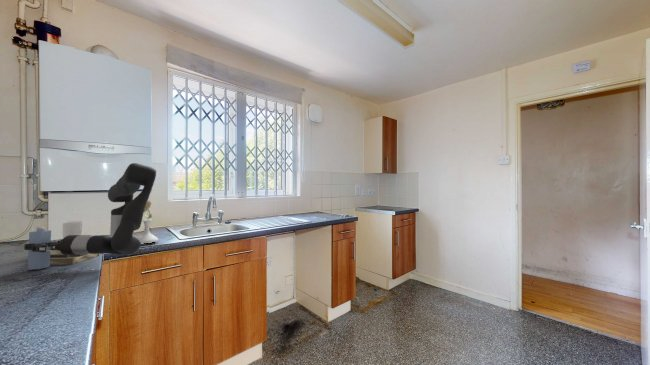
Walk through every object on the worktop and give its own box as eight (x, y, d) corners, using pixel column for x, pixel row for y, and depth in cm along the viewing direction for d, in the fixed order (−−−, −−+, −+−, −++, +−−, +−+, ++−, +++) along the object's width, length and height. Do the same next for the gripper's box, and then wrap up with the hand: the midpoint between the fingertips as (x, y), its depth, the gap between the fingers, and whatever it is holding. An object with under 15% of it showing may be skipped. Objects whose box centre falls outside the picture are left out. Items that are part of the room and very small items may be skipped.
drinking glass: (66, 251, 126) (67, 221, 126) (83, 250, 128) (85, 220, 129) (57, 254, 119) (59, 222, 120) (76, 253, 122) (77, 222, 122)
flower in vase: (133, 243, 146) (134, 200, 147) (156, 241, 154) (157, 200, 155) (135, 247, 137) (137, 200, 138) (160, 244, 144) (161, 200, 145)
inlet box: (70, 256, 116) (71, 236, 117) (98, 255, 118) (99, 236, 118) (39, 265, 103) (40, 242, 103) (72, 264, 104) (73, 242, 104)
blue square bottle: (38, 266, 99) (40, 226, 100) (49, 266, 100) (51, 226, 100) (27, 269, 95) (29, 228, 96) (39, 269, 96) (41, 227, 96)
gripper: (95, 232, 106) (49, 232, 104) (64, 238, 92) (11, 239, 90) (94, 250, 106) (49, 251, 104) (63, 259, 92) (10, 260, 90)
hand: (31, 245), depth 97 cm, fingers closed on blue square bottle, 4 cm apart
